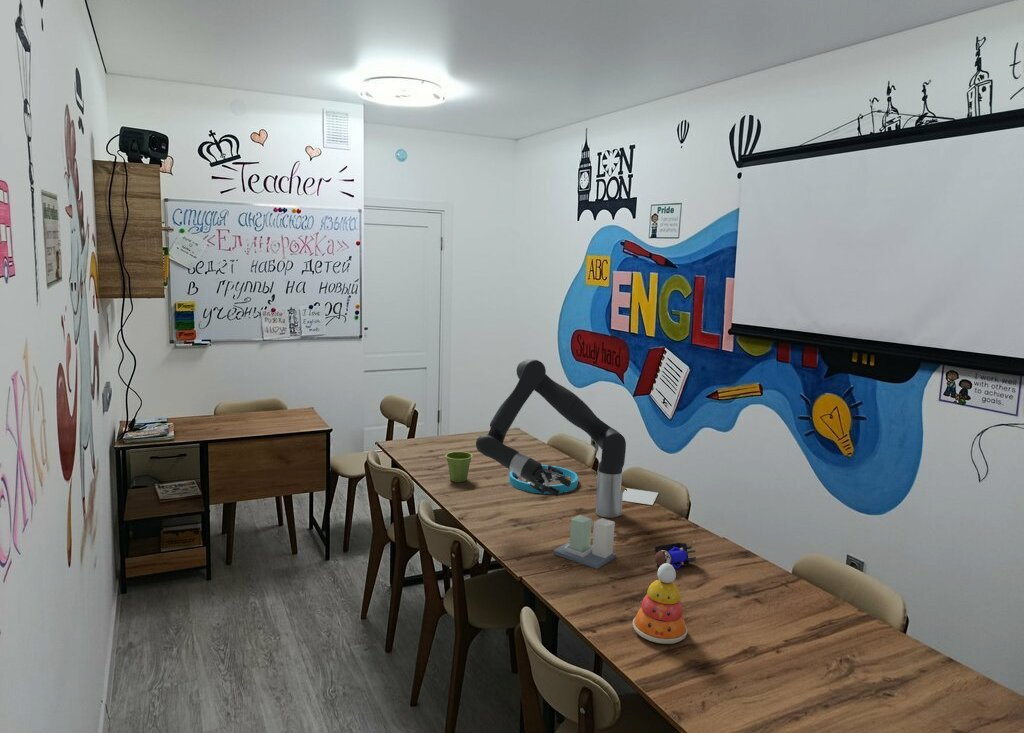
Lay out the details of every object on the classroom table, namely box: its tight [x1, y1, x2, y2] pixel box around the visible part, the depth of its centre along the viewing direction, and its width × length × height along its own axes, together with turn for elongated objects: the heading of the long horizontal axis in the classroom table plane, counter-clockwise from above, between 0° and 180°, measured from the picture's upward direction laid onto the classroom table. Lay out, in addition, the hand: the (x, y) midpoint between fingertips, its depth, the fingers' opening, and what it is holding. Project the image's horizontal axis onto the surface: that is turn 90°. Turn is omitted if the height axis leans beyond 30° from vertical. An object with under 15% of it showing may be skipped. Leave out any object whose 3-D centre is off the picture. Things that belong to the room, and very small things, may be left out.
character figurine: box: [654, 542, 697, 570], centre depth 227 cm, size 8×7×15 cm
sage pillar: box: [569, 514, 593, 553], centre depth 234 cm, size 5×5×11 cm
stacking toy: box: [632, 563, 688, 645], centre depth 185 cm, size 14×14×20 cm
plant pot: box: [445, 451, 473, 483], centre depth 306 cm, size 12×12×11 cm
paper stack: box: [622, 487, 659, 506], centre depth 300 cm, size 23×25×1 cm
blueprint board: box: [552, 541, 617, 570], centre depth 233 cm, size 12×17×2 cm
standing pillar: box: [592, 517, 616, 558], centre depth 232 cm, size 5×5×11 cm
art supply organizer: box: [508, 464, 579, 495], centre depth 308 cm, size 30×30×6 cm
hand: (564, 489), depth 242 cm, fingers open, 8 cm apart
